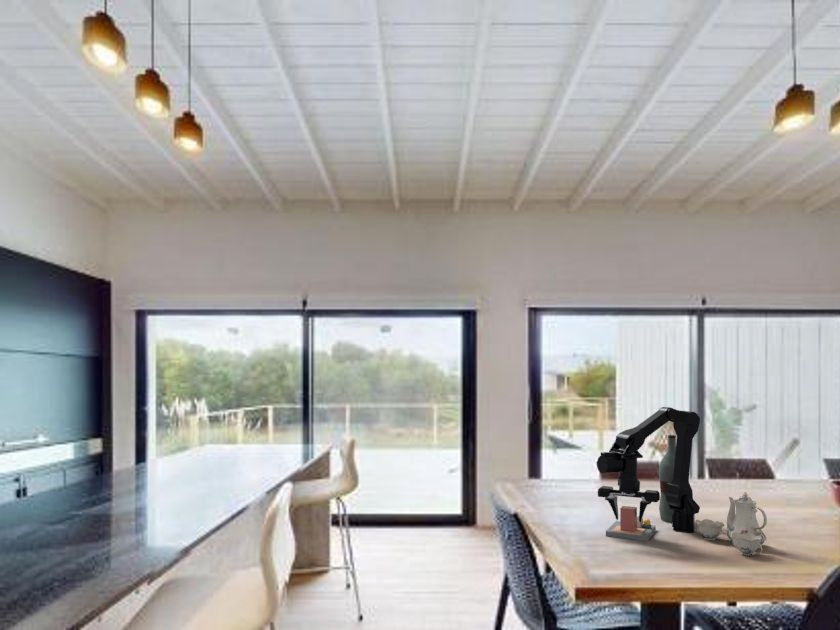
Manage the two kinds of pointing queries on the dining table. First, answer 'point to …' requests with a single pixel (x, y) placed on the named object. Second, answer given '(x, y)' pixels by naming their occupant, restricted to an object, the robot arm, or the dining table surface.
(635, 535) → the panel
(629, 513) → the red rectangular block
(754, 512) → the chinaware
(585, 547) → the dining table surface
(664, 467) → the bottle
